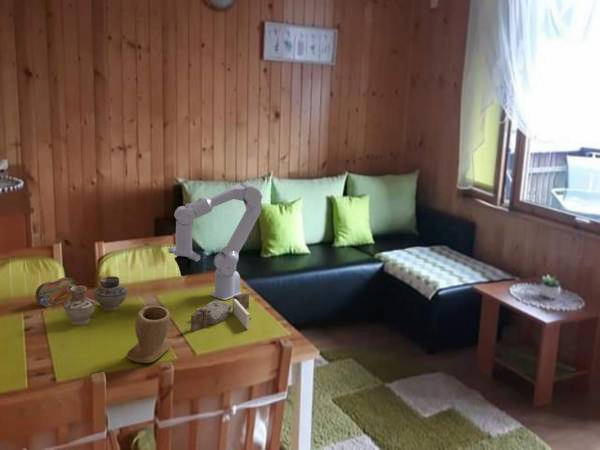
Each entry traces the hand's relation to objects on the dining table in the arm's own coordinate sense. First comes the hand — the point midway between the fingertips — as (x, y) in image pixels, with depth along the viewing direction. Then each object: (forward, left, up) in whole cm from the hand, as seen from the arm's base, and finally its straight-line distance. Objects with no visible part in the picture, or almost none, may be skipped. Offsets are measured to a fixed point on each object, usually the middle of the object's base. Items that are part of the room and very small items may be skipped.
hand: (184, 275), depth 218 cm
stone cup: (+36, +25, -10) cm, 45 cm away
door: (0, +28, -9) cm, 30 cm away
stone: (+4, +19, -10) cm, 22 cm away
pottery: (+29, -12, -10) cm, 33 cm away
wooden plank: (+4, +22, -9) cm, 24 cm away
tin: (+32, -31, -10) cm, 46 cm away
